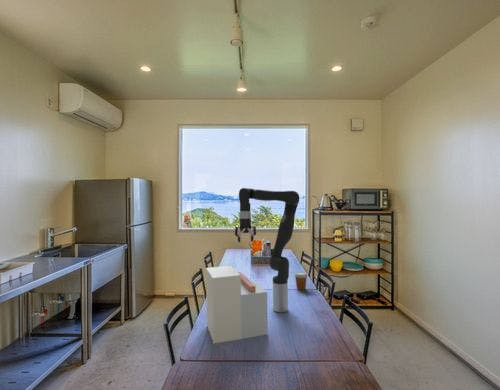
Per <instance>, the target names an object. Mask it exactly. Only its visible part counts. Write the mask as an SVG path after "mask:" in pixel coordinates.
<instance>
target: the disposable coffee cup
mask: <svg viewBox="0 0 500 390" xmlns="http://www.w3.org/2000/svg"><path fill="white" fill-rule="evenodd" d="M294 276H295V277H294V278H295V286H296V290H297V289H298V290H297V291H301V290H303V291H305V290H306V288H307V287H306V286H307V279H308V278H307V277H308V273H307V272H305V271H296V272H295V273H294Z"/></svg>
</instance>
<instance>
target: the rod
mask: <svg viewBox="0 0 500 390" xmlns="http://www.w3.org/2000/svg"><path fill="white" fill-rule="evenodd" d="M237 272H238V271H237ZM238 273H239V274H240V275H241V283H242V285H243V286H244V287H245V288H246V289H247V290H248V291H249V292H256V289H255V285H254V284H253V283H252V282H251V281H252V280H250V279H249V278H248V277H247V276H246V275H244V274H243V273H242V271H239V272H238Z"/></svg>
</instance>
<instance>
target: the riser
mask: <svg viewBox="0 0 500 390" xmlns="http://www.w3.org/2000/svg"><path fill="white" fill-rule="evenodd" d="M205 272H206V273H205V280H206V281H205V282H206V283H205V286H206V327H208V328H207V330H208V333H209V332H210V333H209V335H210V337H211V340H213V341H212V343H213V344H214V345H215V343H216V344H221V342H222V343H226V342H227V341H228V342H233V341H239V340H245V339H250V338H256V337H261V336H267V335H268V334H269V333H268V332H269V331H268V330H269V329H268V291H267V290H265V288H263V287H262V286H261V285H260V284H259V283H258V282H257V281H256V280H250V281H251V282H252V283H253V284H254V285H255V289H256V292H249V291H248V290H247V289H246V288H245V287H244V286H243V285H242V283H241V275H240V274H239V273H238V271H237V270H236V269H235V268H234V267H233V266H232V265H224V266H213V267H205Z"/></svg>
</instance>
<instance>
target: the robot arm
mask: <svg viewBox="0 0 500 390" xmlns="http://www.w3.org/2000/svg"><path fill="white" fill-rule="evenodd" d="M238 199H239V200H238V201H239V226H235V227H234V236H236V237H237V242H238V243H241V235H243V234H248V233H249V236H250V242H251V243H252V242H254V236H255V235H257V226H255V225H252V213H251V203H250V199H251V200H257V201H262V202H264V201H265V202H267V201H269V202H270V201H279V202H283V203H284V210H283V214H282V217H281V219H280V222H279V224H278V230H277V235H276V240H275V242H274V243H275V244H274V246H273V250H272V253H271V255H270V256H271V257H270V258H269V259H270V260H269V266H270V269H271V270H273V271H277V275H275V276H273V278H272V310H273V311H274V312H276V313H285V312H288V311H289V296H288V295H289V294H288V293H289V288H288V287H289V286H288V283H289V282H288V279H289V278H290V277H289V276H290V261H289V258H288V257H285V256H282V254H283V250H284V249H285V247H286V245H287V244H288V243H289V242H290V241H291V239H292V237H293V234H294V233H293V232H294V226H295V217H296V211H297V207H298V205H299V204H300V203H299V202H300V195H299V193H298V192H297V191H296V190H283V191H281V190H279V191H278V190H268V189H259V188H258V189H257V188H256V189H255V188H249V187H242V188H240V189H239V191H238ZM238 231H239V232H238ZM252 231H253V232H252Z"/></svg>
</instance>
